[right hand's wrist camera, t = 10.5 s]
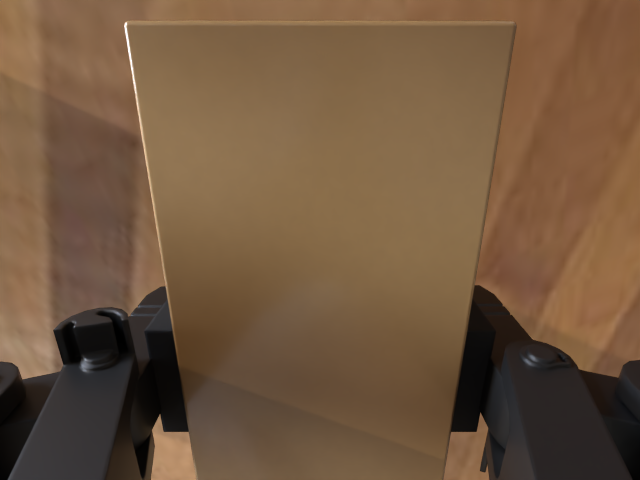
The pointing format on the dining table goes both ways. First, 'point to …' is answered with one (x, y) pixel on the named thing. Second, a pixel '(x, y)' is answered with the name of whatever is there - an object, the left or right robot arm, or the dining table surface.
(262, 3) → the dining table surface
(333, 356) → the bar
